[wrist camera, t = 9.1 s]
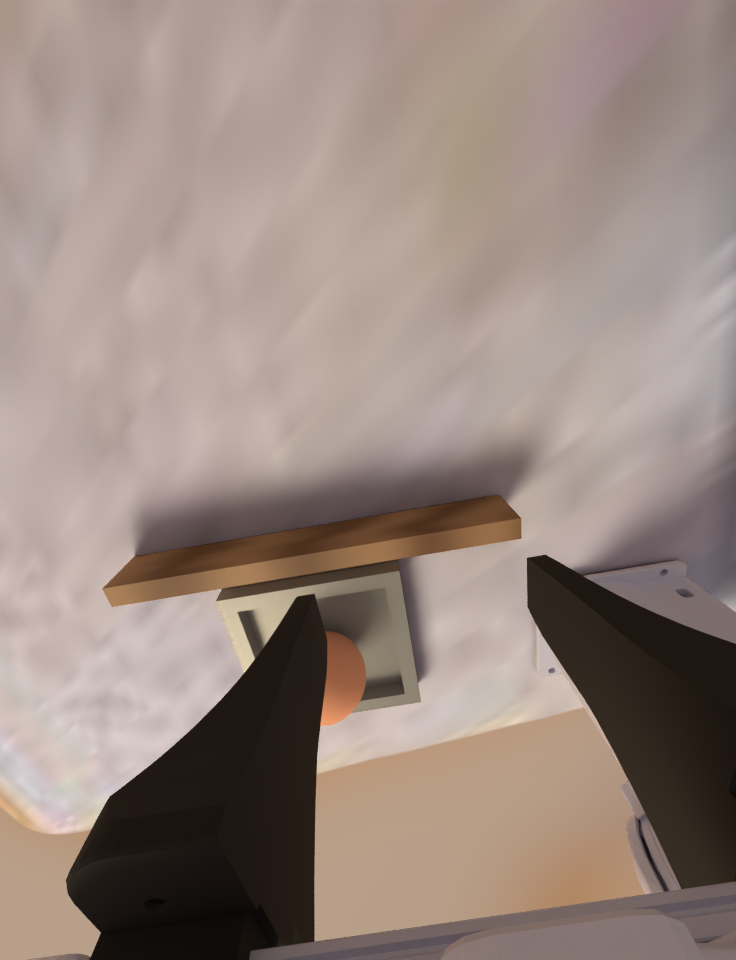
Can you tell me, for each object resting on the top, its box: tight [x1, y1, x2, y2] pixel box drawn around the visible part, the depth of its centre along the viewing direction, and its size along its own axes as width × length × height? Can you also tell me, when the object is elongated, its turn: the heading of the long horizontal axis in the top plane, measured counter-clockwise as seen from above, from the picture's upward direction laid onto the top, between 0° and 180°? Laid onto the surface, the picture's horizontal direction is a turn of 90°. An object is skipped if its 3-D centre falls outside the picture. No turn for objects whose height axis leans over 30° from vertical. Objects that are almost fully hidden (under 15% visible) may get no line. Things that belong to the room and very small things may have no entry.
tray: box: [216, 559, 421, 713], centre depth 24 cm, size 11×11×1 cm
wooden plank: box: [103, 495, 521, 607], centre depth 21 cm, size 22×1×3 cm, turn 100°
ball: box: [320, 631, 366, 726], centre depth 22 cm, size 5×5×5 cm
